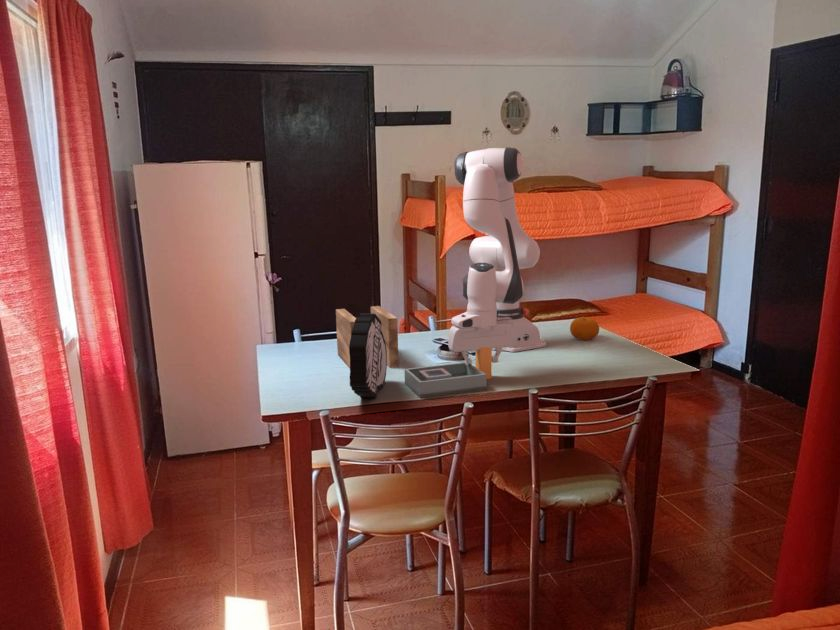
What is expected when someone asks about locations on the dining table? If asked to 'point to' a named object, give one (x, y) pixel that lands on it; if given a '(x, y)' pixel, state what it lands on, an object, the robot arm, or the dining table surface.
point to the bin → (446, 380)
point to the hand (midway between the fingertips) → (481, 363)
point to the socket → (434, 374)
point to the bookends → (387, 327)
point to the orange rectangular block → (484, 360)
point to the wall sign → (367, 356)
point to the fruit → (584, 328)
